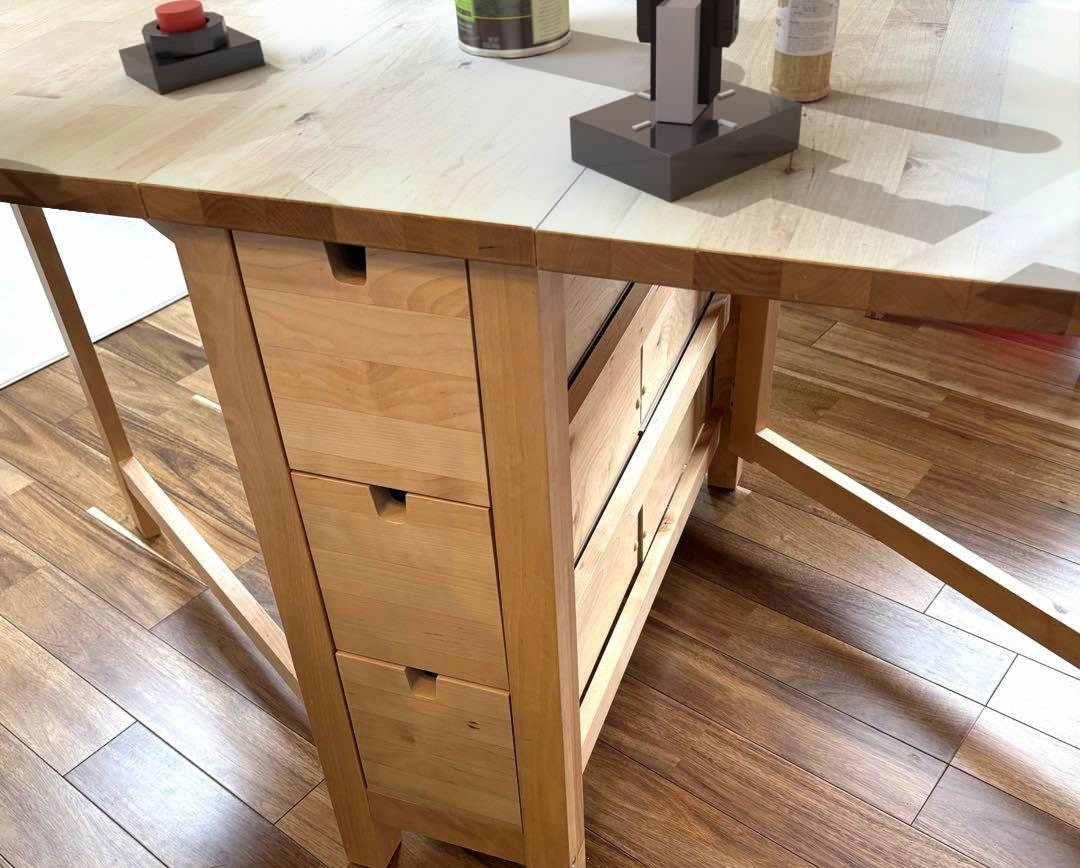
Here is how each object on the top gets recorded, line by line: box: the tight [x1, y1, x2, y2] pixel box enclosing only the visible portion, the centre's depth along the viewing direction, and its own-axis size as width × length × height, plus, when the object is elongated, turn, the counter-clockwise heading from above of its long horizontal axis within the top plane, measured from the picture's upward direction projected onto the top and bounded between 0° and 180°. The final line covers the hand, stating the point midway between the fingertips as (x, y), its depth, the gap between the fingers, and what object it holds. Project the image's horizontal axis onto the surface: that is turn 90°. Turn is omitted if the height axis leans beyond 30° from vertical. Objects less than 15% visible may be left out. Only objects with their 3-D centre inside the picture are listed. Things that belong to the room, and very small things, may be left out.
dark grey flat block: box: [569, 78, 803, 203], centre depth 71 cm, size 12×10×3 cm
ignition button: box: [154, 0, 207, 32], centre depth 91 cm, size 4×4×2 cm
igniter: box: [117, 11, 266, 96], centre depth 93 cm, size 10×8×4 cm
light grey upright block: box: [656, 0, 707, 124], centre depth 68 cm, size 5×2×7 cm, turn 156°
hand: (685, 94), depth 70 cm, fingers closed on light grey upright block, 2 cm apart
